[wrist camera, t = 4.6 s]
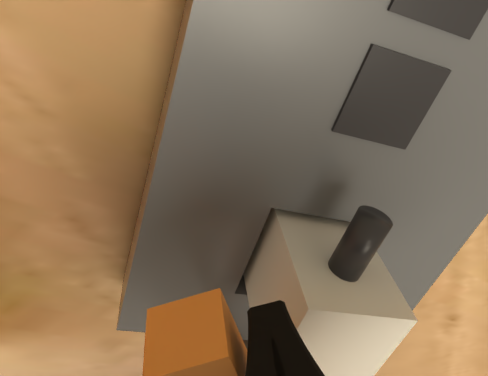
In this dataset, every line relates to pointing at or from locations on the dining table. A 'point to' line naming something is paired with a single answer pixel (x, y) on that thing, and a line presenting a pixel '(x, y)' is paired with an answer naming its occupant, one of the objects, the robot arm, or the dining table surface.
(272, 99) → the power block
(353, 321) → the plug
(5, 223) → the dining table surface
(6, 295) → the dining table surface
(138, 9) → the dining table surface
